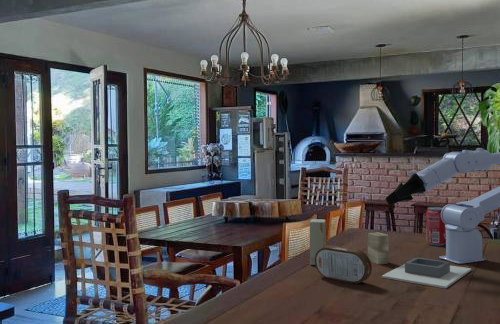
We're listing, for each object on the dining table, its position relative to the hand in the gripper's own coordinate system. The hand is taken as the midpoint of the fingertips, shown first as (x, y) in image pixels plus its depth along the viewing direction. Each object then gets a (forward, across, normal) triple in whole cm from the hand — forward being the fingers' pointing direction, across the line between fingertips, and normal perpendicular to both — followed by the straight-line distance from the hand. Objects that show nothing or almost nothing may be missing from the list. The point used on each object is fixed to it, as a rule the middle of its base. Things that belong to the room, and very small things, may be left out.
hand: (392, 198), depth 139 cm
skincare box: (+24, -13, +6) cm, 28 cm away
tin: (+25, +4, +12) cm, 28 cm away
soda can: (-18, -30, +19) cm, 40 cm away
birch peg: (+9, -12, +13) cm, 20 cm away
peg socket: (+4, +2, +21) cm, 22 cm away
